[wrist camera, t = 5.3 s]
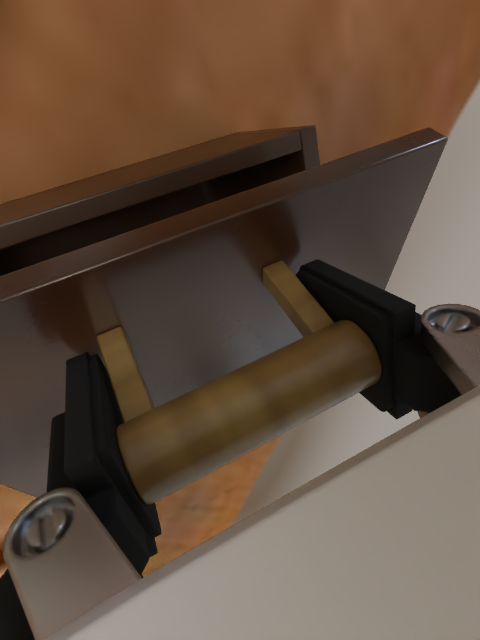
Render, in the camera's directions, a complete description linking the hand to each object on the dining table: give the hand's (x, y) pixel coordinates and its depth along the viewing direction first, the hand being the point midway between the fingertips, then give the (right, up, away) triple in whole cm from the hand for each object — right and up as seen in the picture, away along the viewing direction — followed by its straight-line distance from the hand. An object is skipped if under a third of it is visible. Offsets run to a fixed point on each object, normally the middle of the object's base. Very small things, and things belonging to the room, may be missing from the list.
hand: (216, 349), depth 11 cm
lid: (-1, -1, +4) cm, 4 cm away
